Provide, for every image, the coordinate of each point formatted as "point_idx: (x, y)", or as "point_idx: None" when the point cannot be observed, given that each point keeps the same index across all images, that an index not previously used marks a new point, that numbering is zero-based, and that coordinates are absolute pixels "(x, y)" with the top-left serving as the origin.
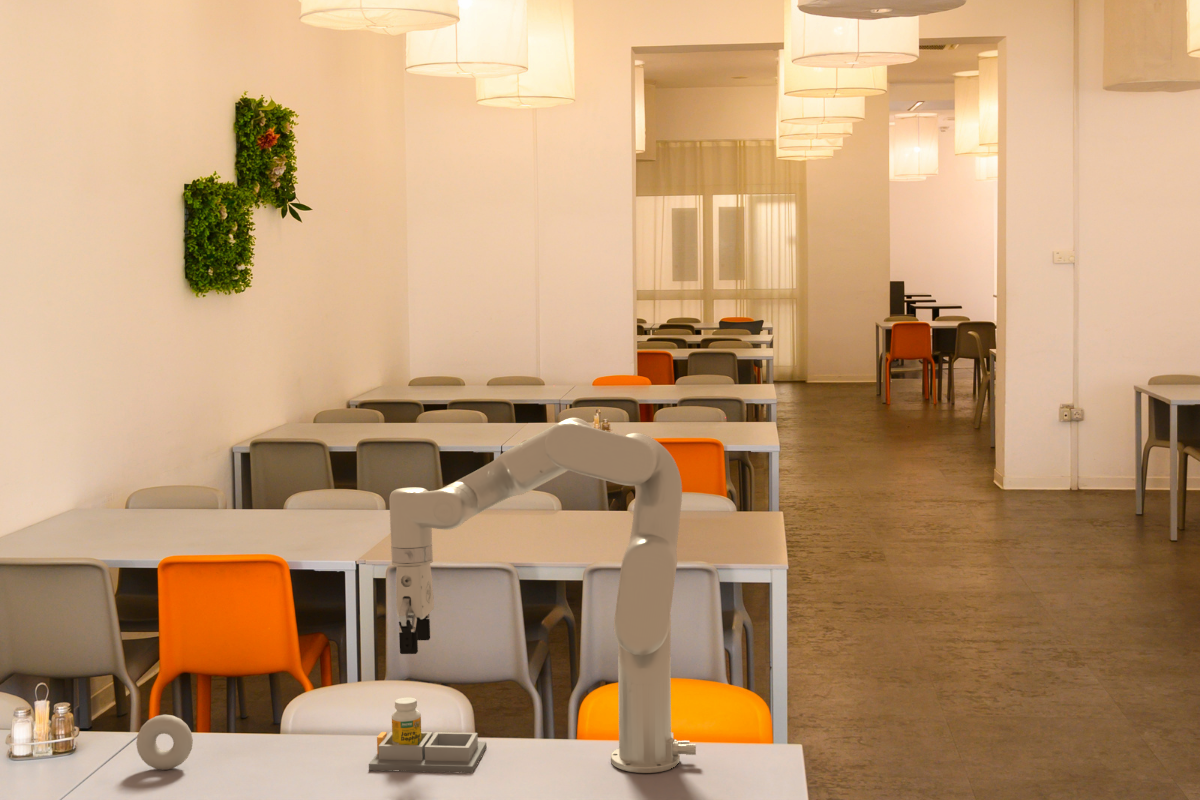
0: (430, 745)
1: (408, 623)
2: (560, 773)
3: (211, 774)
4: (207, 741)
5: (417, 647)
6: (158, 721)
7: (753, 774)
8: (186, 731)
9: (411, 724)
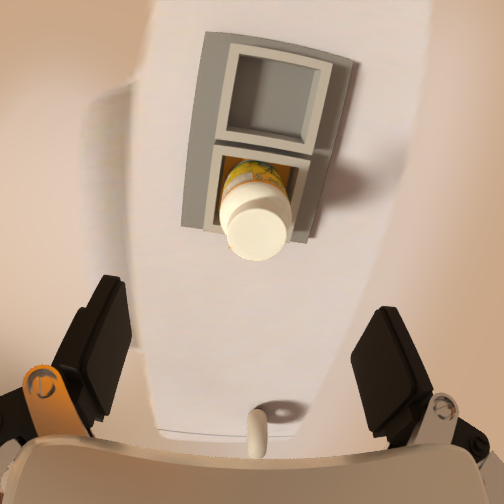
0: (306, 143)
1: (485, 443)
2: None
3: (278, 386)
4: (175, 400)
5: (396, 322)
6: (264, 455)
7: None
8: (263, 435)
9: (287, 197)
